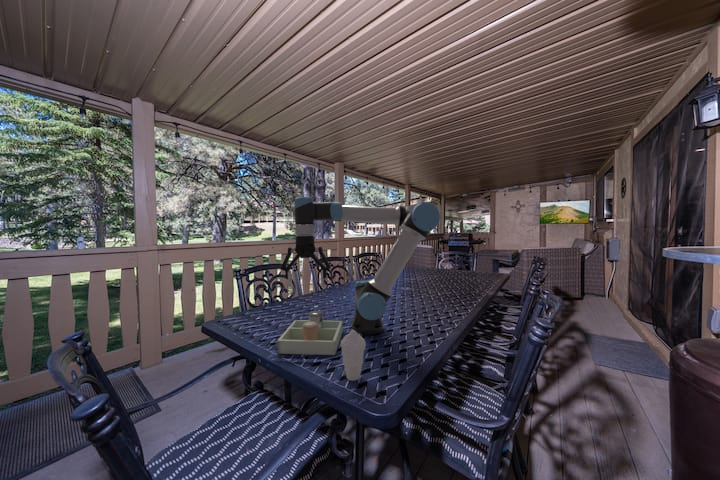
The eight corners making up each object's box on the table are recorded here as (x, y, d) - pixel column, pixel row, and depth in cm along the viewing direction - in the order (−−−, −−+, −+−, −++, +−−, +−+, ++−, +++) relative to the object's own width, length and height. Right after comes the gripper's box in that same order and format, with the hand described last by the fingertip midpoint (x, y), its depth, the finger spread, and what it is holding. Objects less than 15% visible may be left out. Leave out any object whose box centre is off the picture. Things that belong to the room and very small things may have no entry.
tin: (324, 333, 121) (324, 310, 121) (321, 338, 115) (321, 315, 115) (311, 332, 122) (310, 310, 121) (307, 338, 116) (307, 315, 115)
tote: (342, 333, 123) (342, 320, 122) (335, 357, 101) (334, 341, 101) (295, 332, 124) (295, 320, 124) (277, 356, 102) (277, 340, 102)
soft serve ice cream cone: (340, 370, 92) (339, 324, 91) (364, 369, 92) (364, 323, 92) (340, 385, 83) (340, 334, 82) (367, 383, 84) (367, 333, 83)
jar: (319, 343, 111) (319, 321, 110) (316, 350, 105) (315, 326, 104) (305, 342, 111) (304, 321, 111) (300, 349, 105) (300, 326, 105)
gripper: (336, 234, 114) (337, 284, 115) (277, 235, 115) (279, 284, 116) (334, 235, 107) (335, 288, 108) (271, 236, 107) (273, 289, 108)
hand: (306, 286), depth 112 cm, fingers open, 13 cm apart
